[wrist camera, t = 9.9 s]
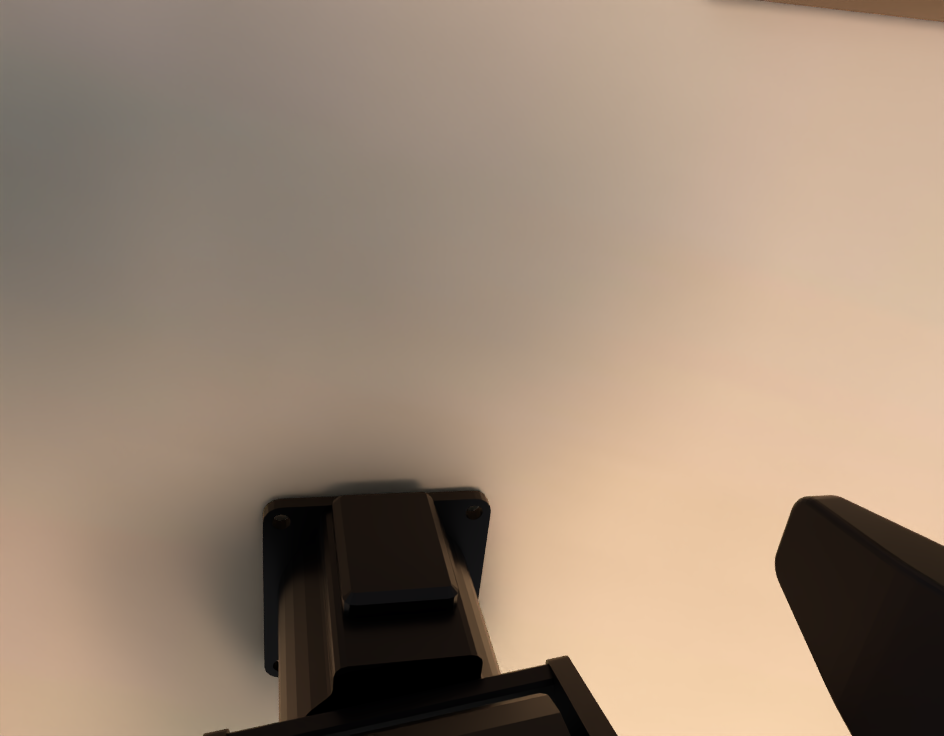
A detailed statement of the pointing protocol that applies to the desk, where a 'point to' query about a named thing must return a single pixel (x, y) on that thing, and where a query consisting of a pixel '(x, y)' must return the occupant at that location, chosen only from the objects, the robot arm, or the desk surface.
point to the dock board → (881, 7)
